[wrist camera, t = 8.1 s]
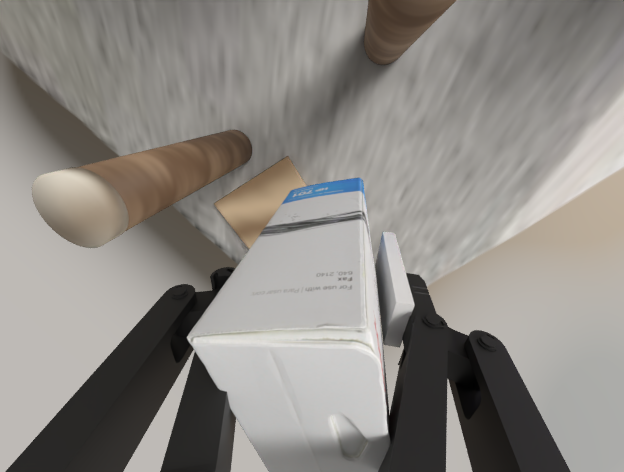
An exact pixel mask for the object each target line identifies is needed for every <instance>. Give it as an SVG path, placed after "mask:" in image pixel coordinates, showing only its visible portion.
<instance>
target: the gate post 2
mask: <svg viewBox="0 0 624 472" xmlns="http://www.w3.org/2000/svg"><path fill="white" fill-rule="evenodd" d="M455 1H456V0H369V1H368V10H367V19H366V27H365V36H364V48H365V51H366V54H367V56H368V57H369V59H370V60H371V61H373V62H374V63H376V64H380V65H386V64H390V63H392V62H394V61H395V60H397V59H398V58H399V57H400V56H401V55H402V54H403V53H404V52H405V51H406V50H407V49H408V48H409V47H410V46H411V45H412V44H413V43H414V42H415V41H416V40H417V39H418V38H419V37H420V36H421V35H422V34H423V33H424V32H425V31H426V30H427V29H428V28H429V27H430V26H431V25H432V24H433V23H434V22H435V21H436V20H437V19H438V18H439V17H440V16H441V15H442V14H443V13H444V12H445V11H446V10H447V9H448V8H449V7H450V6H451V5H452V4H453V3H454V2H455Z"/></svg>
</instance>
